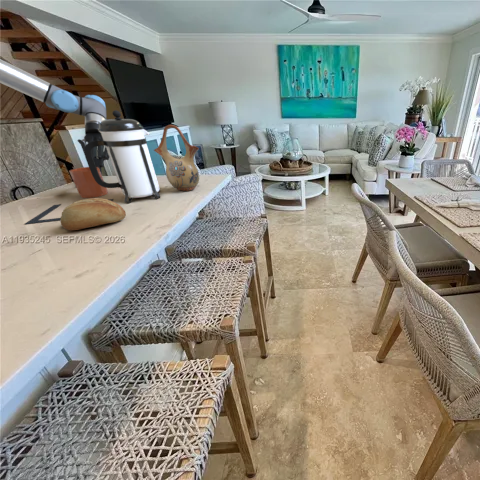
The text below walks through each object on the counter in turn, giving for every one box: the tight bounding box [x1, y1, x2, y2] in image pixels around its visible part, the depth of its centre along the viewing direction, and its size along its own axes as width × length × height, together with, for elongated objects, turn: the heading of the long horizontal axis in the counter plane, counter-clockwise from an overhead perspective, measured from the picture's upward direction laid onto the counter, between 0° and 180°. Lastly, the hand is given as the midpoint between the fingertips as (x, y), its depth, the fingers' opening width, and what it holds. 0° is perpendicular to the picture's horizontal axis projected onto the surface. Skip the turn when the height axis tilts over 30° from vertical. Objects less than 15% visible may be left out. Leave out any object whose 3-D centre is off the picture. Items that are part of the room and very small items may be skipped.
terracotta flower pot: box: [68, 166, 109, 199], centre depth 103 cm, size 9×9×10 cm
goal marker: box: [24, 198, 114, 225], centre depth 89 cm, size 18×18×1 cm
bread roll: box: [59, 197, 127, 231], centre depth 76 cm, size 10×15×8 cm, turn 125°
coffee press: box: [83, 109, 161, 204], centre depth 94 cm, size 17×16×30 cm
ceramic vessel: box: [153, 124, 200, 192], centre depth 104 cm, size 16×9×25 cm, turn 99°
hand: (97, 173), depth 111 cm, fingers closed
